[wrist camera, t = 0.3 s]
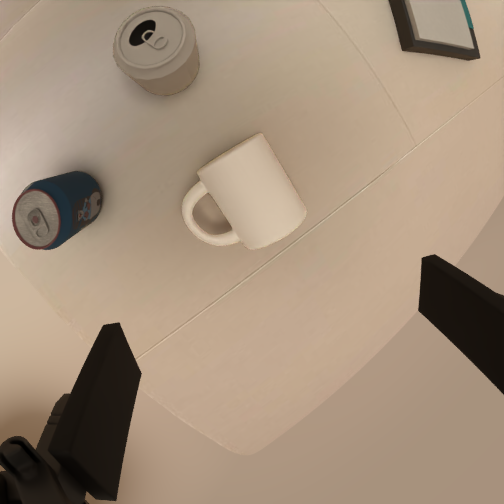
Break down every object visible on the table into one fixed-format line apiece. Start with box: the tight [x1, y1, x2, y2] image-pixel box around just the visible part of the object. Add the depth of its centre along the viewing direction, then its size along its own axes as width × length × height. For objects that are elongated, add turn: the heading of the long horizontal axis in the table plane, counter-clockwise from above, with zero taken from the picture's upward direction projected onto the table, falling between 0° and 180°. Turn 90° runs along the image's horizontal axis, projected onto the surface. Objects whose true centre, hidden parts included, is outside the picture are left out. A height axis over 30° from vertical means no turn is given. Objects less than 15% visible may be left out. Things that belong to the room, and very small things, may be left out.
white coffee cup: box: [182, 133, 307, 250], centre depth 34 cm, size 12×10×8 cm
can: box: [113, 6, 199, 96], centre depth 26 cm, size 8×8×12 cm
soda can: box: [12, 171, 102, 250], centre depth 30 cm, size 7×7×12 cm
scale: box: [389, 0, 480, 60], centre depth 29 cm, size 16×14×4 cm
